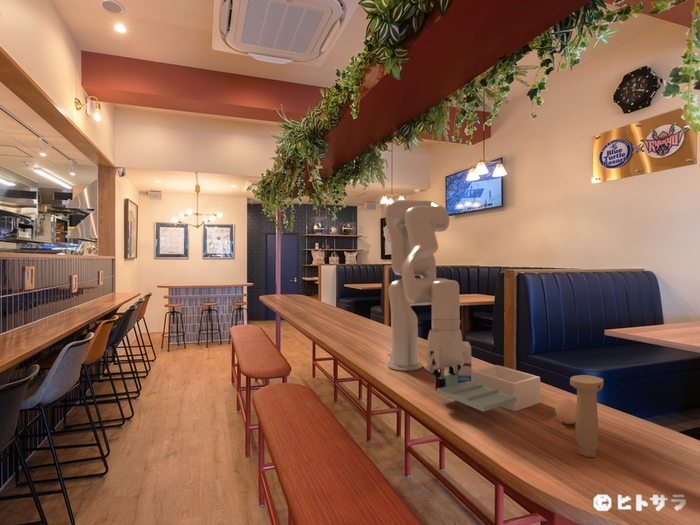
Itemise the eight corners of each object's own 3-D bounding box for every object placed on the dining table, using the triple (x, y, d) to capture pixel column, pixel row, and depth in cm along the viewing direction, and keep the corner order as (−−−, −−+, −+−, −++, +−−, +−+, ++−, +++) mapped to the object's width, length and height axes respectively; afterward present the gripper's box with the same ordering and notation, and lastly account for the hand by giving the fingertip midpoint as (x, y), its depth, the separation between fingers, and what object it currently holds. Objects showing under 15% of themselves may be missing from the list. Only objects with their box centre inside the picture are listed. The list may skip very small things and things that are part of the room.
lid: (423, 387, 104) (423, 376, 104) (455, 380, 111) (455, 369, 111) (483, 411, 87) (483, 398, 87) (516, 401, 94) (516, 388, 94)
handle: (564, 452, 77) (564, 378, 77) (585, 445, 80) (585, 373, 80) (588, 463, 73) (588, 385, 72) (609, 456, 75) (609, 380, 75)
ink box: (472, 384, 119) (472, 346, 119) (455, 383, 120) (455, 346, 120) (469, 376, 127) (469, 340, 127) (453, 375, 128) (453, 340, 128)
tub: (471, 394, 110) (471, 370, 109) (496, 388, 115) (496, 364, 115) (514, 411, 98) (514, 384, 97) (540, 402, 103) (540, 377, 103)
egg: (550, 421, 92) (550, 396, 92) (565, 417, 94) (565, 393, 94) (570, 429, 87) (570, 403, 87) (585, 425, 89) (585, 400, 89)
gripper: (456, 320, 113) (457, 382, 113) (413, 325, 104) (414, 392, 104) (477, 323, 107) (477, 389, 107) (432, 329, 98) (433, 401, 98)
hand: (446, 390), depth 105 cm, fingers closed on lid, 3 cm apart
